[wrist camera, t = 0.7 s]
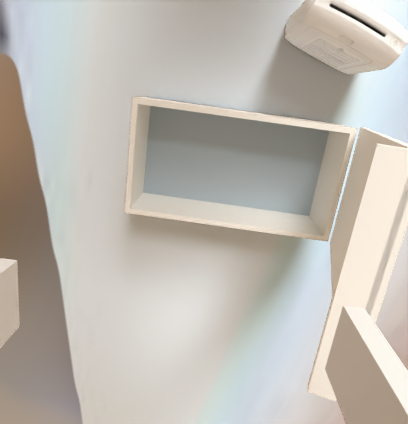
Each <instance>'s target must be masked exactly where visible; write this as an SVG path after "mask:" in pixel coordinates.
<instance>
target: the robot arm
mask: <svg viewBox="0 0 408 424" xmlns="http://www.w3.org/2000/svg"><path fill="white" fill-rule="evenodd" d="M19 325H20V324H19V296H18V268H17V260H10V259H3V258H0V348H1V347H2V346H3V345H4V343H5V342H6V341H7V340H8V339H9V338H10V337H11V336H12V334H13V333H14V332H15V331H16V330H17V329H18V327H19ZM325 370H326V373H327V376H328V378H329V381H330V383H331V386H332V389H333V391H334V394H335V396H336V399H337V402H338V404H339V407H340V409H341V412H342V415H343V417H344V420H345V422H346V424H408V371H407V369H406V368H405V366H404V365H403V364H402V362H401V361H400V359H399V358H398V356H397V355H396V353H395V352H394V350H393V349H392V348H391V346H390V345H389V343H388V342H387V340H386V339H385V337H384V336H383V334H382V333H381V332H380V330H379V329H378V327H377V326H376V324H375V323H374V321H373V320H372V318H371V317H370V315H369V314H368V313H367V311H366V310H365V308H358V307H351V306H344V305H343V307H342V311H341V314H340V318H339V321H338V325H337V328H336V332H335V335H334V339H333V342H332V346H331V349H330V353H329V356H328V360H327V363H326V367H325Z"/></svg>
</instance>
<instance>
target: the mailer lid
mask: <svg viewBox="0 0 408 424" xmlns="http://www.w3.org/2000/svg"><path fill="white" fill-rule="evenodd" d="M407 226H408V144H407V143H405V142H402V141H399V140H397V139H394V138H391V137H389V136H386V135H384V134H381V133H378V132H376V131H373V130H371V129H368V128H363V127H361V128H360V132H359V135H358V139H357V143H356V147H355V151H354V154H353V158H352V162H351V166H350V170H349V173H348V177H347V181H346V185H345V189H344V192H343V196H342V200H341V204H340V208H339V211H338V215H337V219H336V223H335V227H334V230H333V234H332V238H331V242H330V255H331V280H332V300H331V304H330V307H329V311H328V314H327V318H326V321H325V325H324V329H323V332H322V336H321V339H320V343H319V346H318V350H317V354H316V357H315V361H314V364H313V368H312V371H311V375H310V379H309V382H308V392H310V393H312V394H315V395H318V396H321V397H324V398H327V399H330V400H333V401H336V402H337V399H336V396H335V394H334V391H333V389H332V386H331V383H330V381H329V378H328V376H327V373H326V370H325V367H326V363H327V360H328V356H329V353H330V349H331V346H332V342H333V339H334V335H335V332H336V328H337V325H338V321H339V318H340V314H341V311H342V307H343V305H344V306H351V307H358V308H365V310H366V311H367V313H368V314H369V315H370V317H371V318H372V320H373V321H374V323H376V320H377V317H378V314H379V311H380V308H381V305H382V302H383V299H384V296H385V293H386V290H387V286H388V283H389V280H390V277H391V274H392V271H393V268H394V265H395V262H396V259H397V256H398V253H399V250H400V247H401V244H402V241H403V238H404V235H405V232H406V229H407Z"/></svg>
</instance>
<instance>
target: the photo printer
mask: <svg viewBox="0 0 408 424" xmlns="http://www.w3.org/2000/svg"><path fill="white" fill-rule="evenodd" d="M285 34H286V35H285V36H284V37H285V38H286V39H287V40H288V41H289V42H290V43H292V44H293V45H294V46H296V47H298V48H299V49H301V50H303V51H304V52H306V53H308V54H309V55H311V56H313V57H315V58H316V59H318V60H320V61H322V62H323V63H325V64H327V65H329V66H331V67H333V68H335V69H336V70H338V71H341V72H343V73H346V74H357V73H363V72H369V71H375V70H382V69H385V68H387V67H388V66H390V65H391V64H392V63H393V62H394V61H395V60H396V59H397V58H398V57H399V56H400V54H401V51H402V50H403V48H404V47H405V45H406V44H407V42H408V33H407V31H406V30H405V29H404V27H403V26H402V25H401V24H400V23H399V22H397V21H396V20H395V19H394V18H392V17H391V16H390V15H388V14H387V13H386V12H384V11H383V10H381V9H380V8H378V7H376V6H375V5H373V4H371V3H370V2H368V1H366V0H305V1H304V2H303V3H302V5H301V6H300V7H299V8H298V9H297V10H296V11H295V12H294V13H293V14H292V15H291V16H290V18H289V19H288V21H287V23H286V27H285Z"/></svg>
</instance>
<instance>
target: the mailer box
mask: <svg viewBox="0 0 408 424" xmlns="http://www.w3.org/2000/svg"><path fill="white" fill-rule="evenodd" d="M356 132H357V128H352V127H348V126H344V125H339V124H335V123H328V122H321V121H314V120H307V119H299V118H292V117H285V116H278V115H271V114H264V113H256V112H249V111H242V110H235V109H228V108H221V107H214V106H206V105H199V104H192V103H185V102H178V101H171V100H164V99H156V98H149V97H132V111H131V126H130V141H129V156H128V171H127V185H126V200H125V213H129V214H136V215H143V216H151V217H158V218H165V219H172V220H179V221H186V222H193V223H200V224H207V225H214V226H222V227H229V228H236V229H243V230H250V231H257V232H264V233H271V234H278V235H285V236H293V237H300V238H307V239H314V240H321V241H328V239H329V235H330V232H331V228H332V224H333V220H334V216H335V212H336V209H337V205H338V201H339V197H340V193H341V189H342V186H343V182H344V178H345V174H346V170H347V166H348V163H349V159H350V155H351V151H352V147H353V143H354V140H355V136H356Z"/></svg>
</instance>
